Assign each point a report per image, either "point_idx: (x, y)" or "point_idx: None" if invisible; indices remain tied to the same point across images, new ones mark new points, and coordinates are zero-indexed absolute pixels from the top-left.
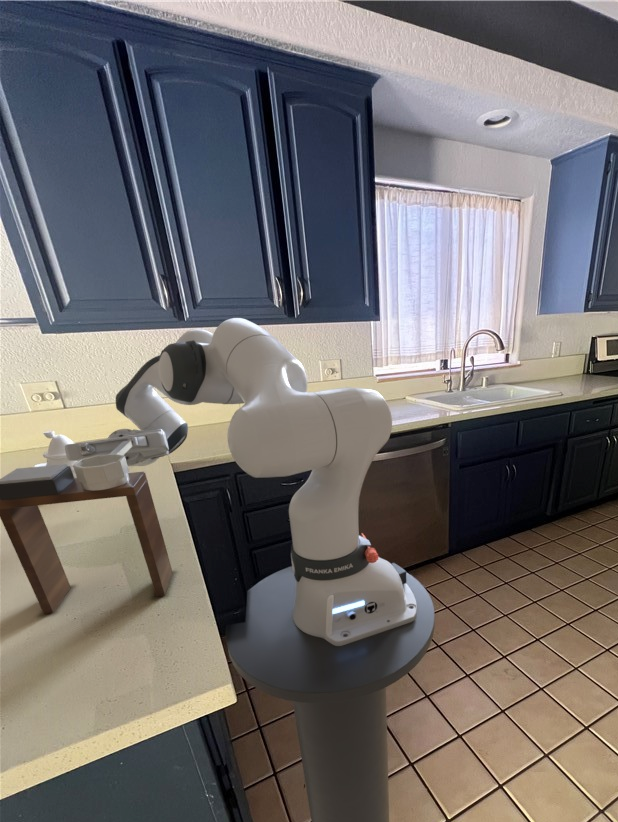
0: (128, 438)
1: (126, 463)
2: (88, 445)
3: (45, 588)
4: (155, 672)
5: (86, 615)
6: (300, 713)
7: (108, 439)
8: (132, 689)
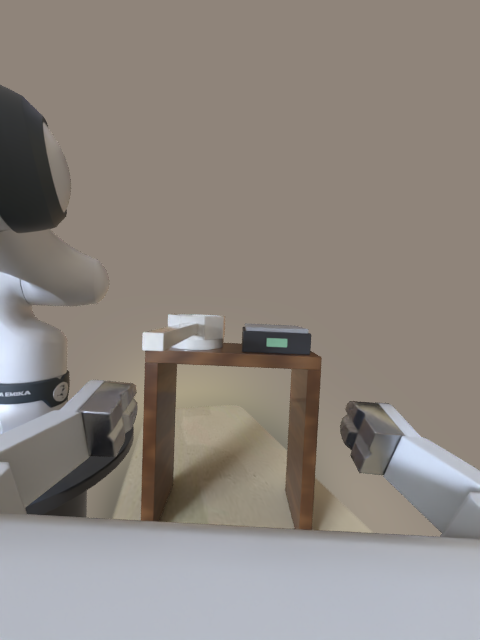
0: (128, 383)
1: (168, 324)
2: (367, 433)
3: (287, 462)
4: (181, 420)
5: (244, 477)
6: (86, 514)
7: (315, 531)
8: (193, 416)
